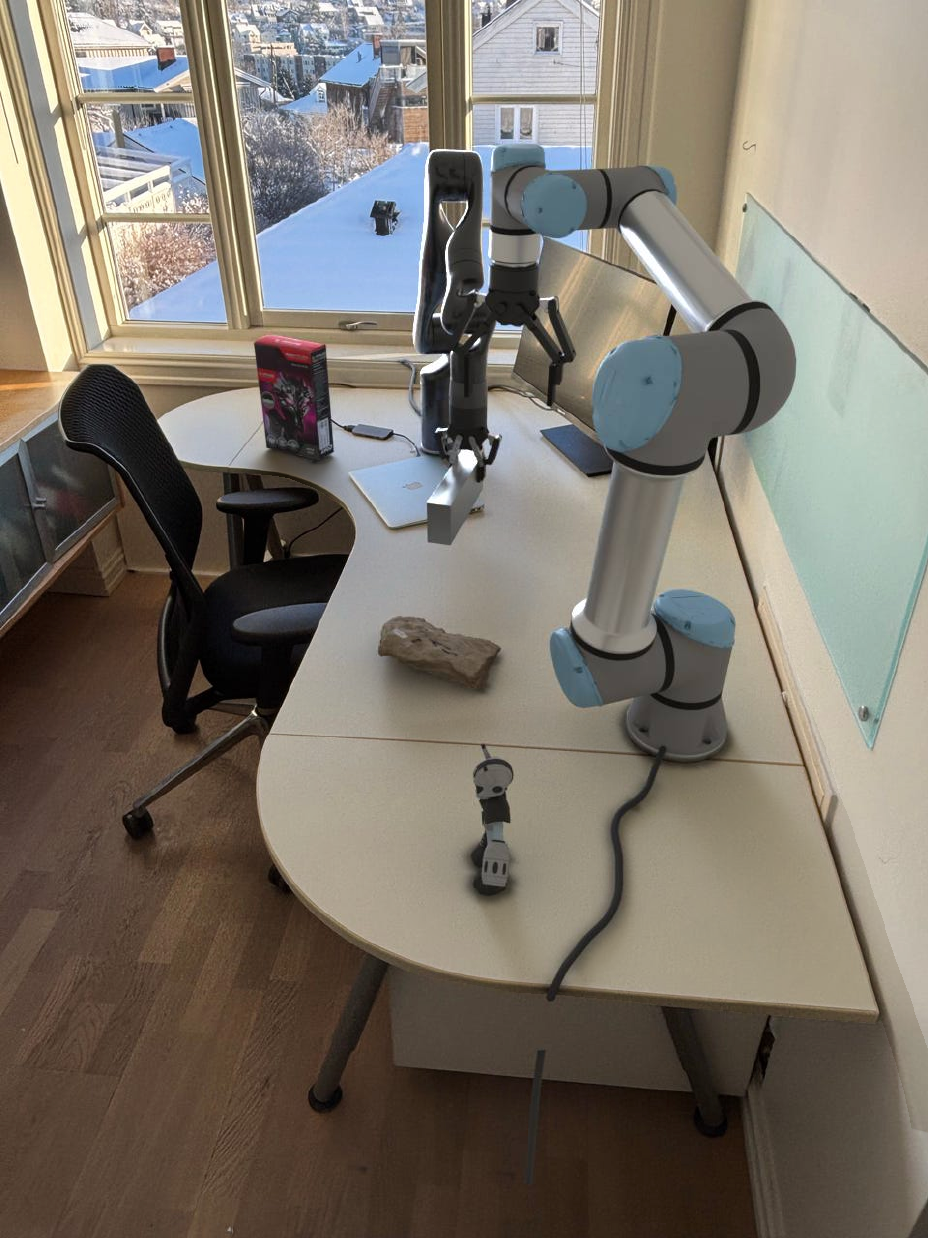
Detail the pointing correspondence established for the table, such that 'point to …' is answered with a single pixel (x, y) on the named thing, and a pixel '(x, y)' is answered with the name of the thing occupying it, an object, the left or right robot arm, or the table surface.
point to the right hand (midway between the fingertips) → (509, 399)
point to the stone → (438, 651)
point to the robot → (492, 823)
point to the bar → (453, 499)
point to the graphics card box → (294, 396)
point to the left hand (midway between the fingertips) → (467, 479)
